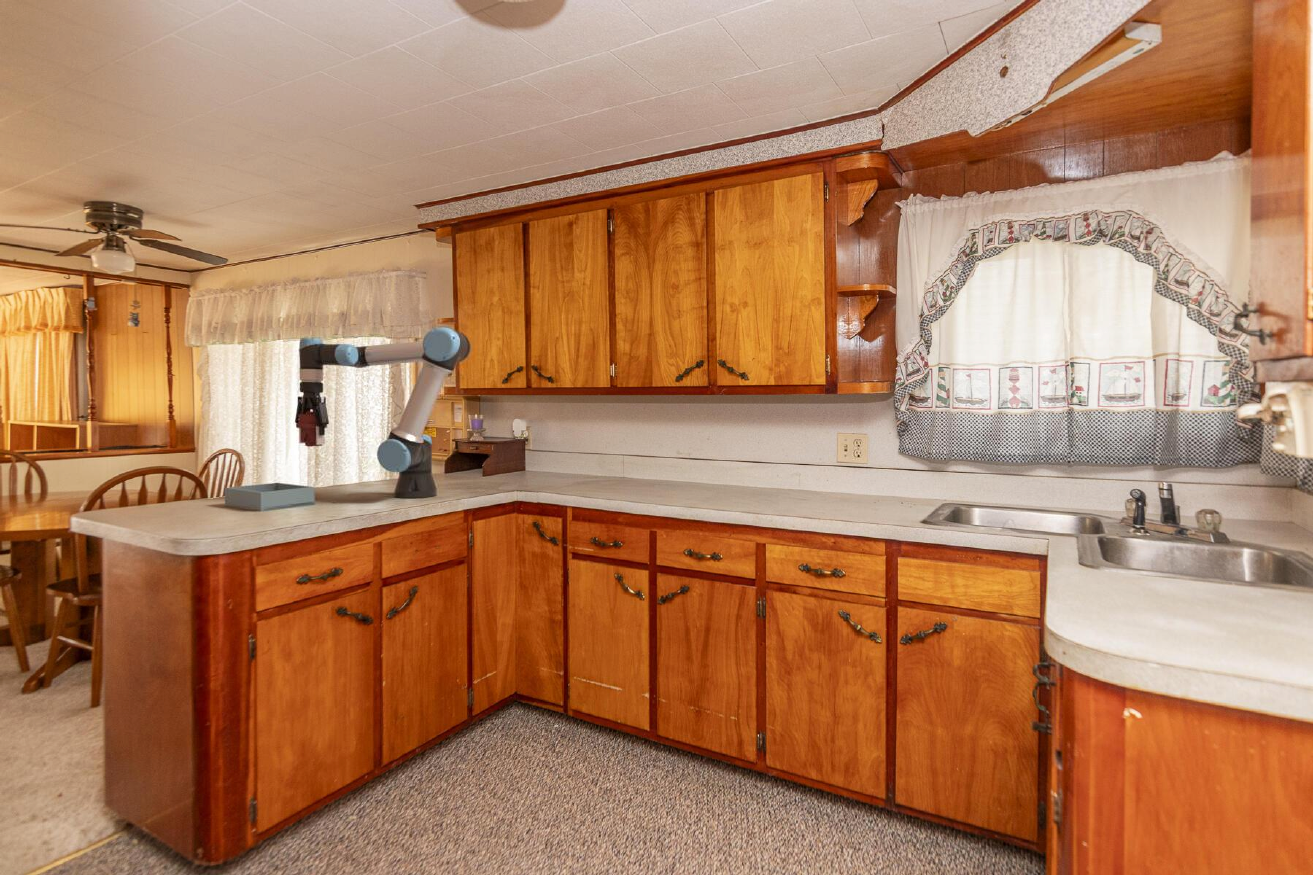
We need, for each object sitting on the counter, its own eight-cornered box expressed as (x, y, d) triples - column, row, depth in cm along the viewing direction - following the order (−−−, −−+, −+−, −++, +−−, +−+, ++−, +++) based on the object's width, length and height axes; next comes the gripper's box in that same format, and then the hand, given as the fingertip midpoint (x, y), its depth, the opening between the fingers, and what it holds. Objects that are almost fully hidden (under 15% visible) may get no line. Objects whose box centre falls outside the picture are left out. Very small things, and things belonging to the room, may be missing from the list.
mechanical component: (307, 447, 238) (290, 445, 243) (333, 445, 247) (316, 444, 252) (307, 411, 238) (289, 411, 243) (333, 411, 247) (315, 411, 251)
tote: (314, 504, 234) (314, 487, 234) (261, 511, 218) (260, 492, 218) (278, 499, 245) (277, 482, 245) (225, 505, 230) (224, 487, 230)
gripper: (339, 381, 241) (340, 444, 242) (303, 382, 253) (304, 441, 254) (319, 381, 235) (319, 445, 236) (283, 381, 247) (284, 442, 248)
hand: (311, 443), depth 245 cm, fingers closed on mechanical component, 10 cm apart
